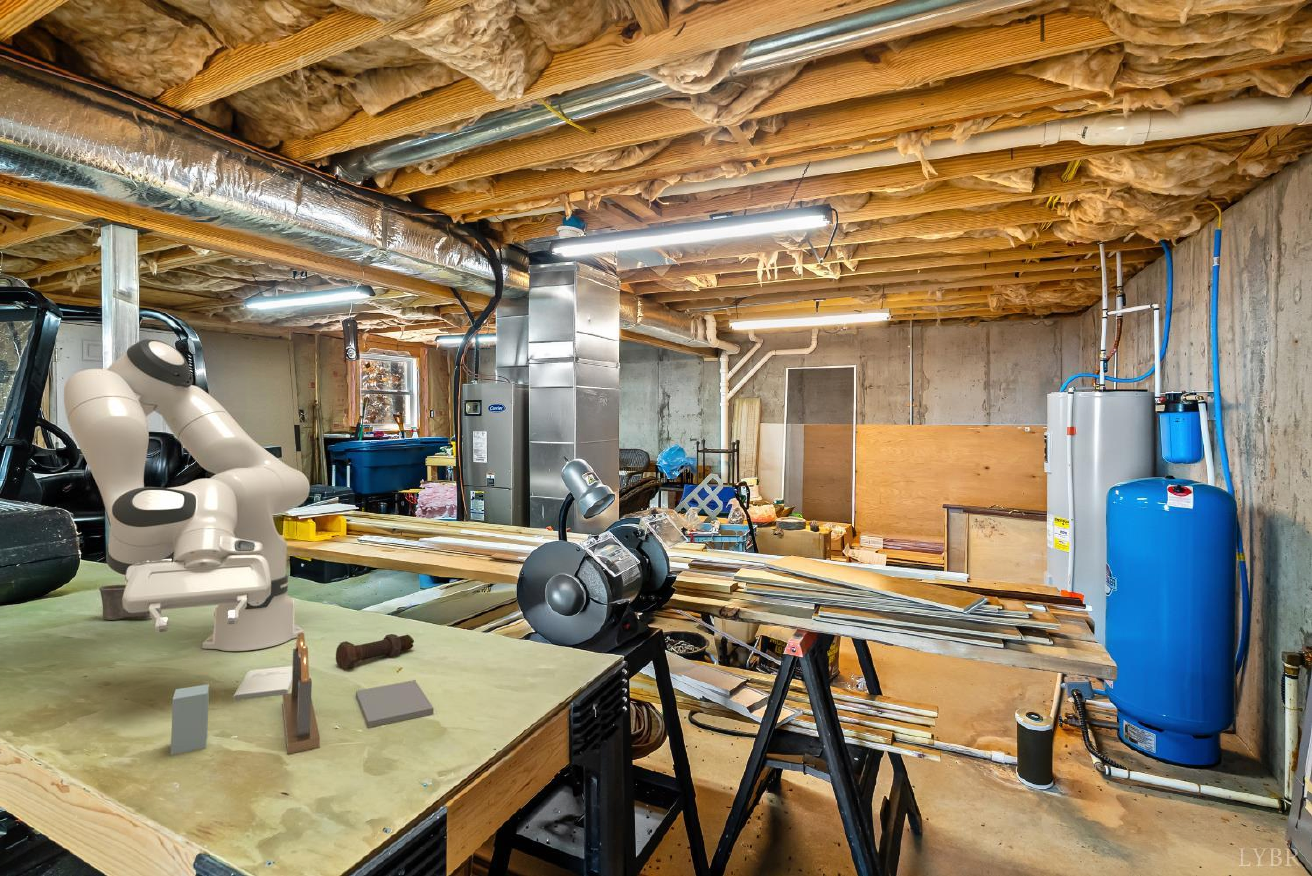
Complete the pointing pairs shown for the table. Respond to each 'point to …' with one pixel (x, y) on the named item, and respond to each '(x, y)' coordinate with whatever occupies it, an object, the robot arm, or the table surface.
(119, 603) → the pipe
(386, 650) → the bolt
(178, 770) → the table surface
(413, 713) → the pad
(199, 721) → the block
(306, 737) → the wire frame
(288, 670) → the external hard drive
